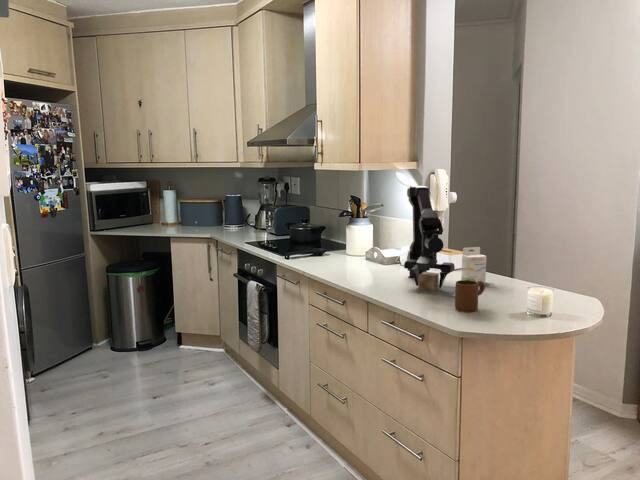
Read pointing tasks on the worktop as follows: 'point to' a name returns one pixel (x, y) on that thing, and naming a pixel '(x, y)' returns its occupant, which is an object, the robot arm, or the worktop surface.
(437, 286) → the walnut cube
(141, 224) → the worktop surface
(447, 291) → the mat
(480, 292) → the mug
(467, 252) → the ink box
